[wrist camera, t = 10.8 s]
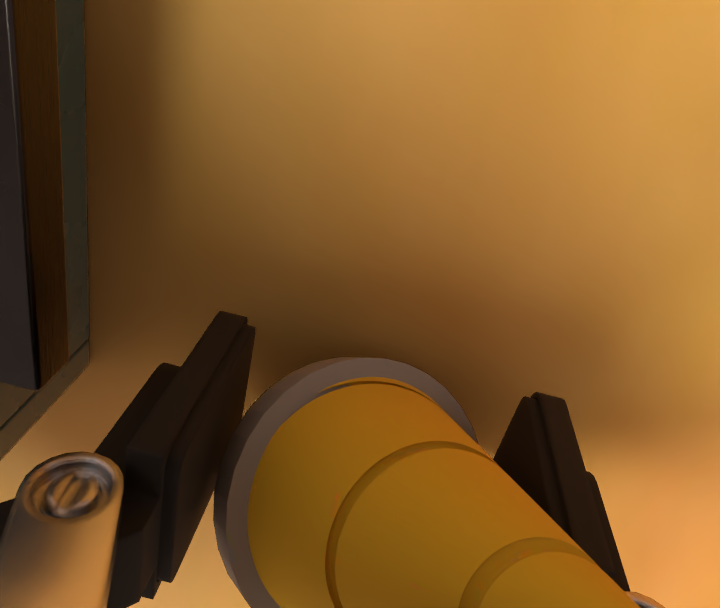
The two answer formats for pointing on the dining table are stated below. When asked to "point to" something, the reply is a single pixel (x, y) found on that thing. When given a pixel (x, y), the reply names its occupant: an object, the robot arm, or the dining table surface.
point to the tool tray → (41, 209)
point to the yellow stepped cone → (385, 503)
